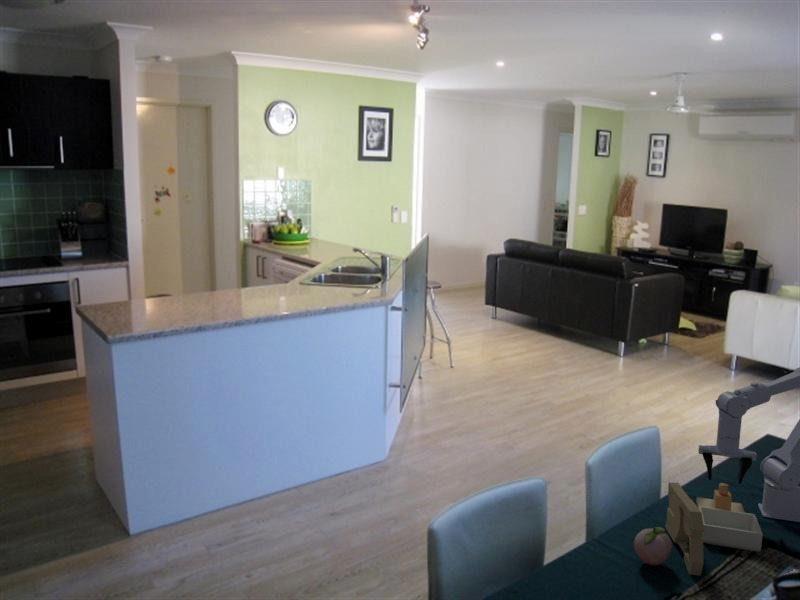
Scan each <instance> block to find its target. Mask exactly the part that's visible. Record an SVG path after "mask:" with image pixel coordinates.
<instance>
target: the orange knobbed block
mask: <svg viewBox="0 0 800 600" xmlns="http://www.w3.org/2000/svg"><path fill="white" fill-rule="evenodd" d="M729 487H730V485H729V484H727V483H725V482H724V483H723V482H720V483H719V485H718V489H714V492H713V500H714V501H713V507H714V508H715V509H722V510H729V511H731V502H733V501H732V499H733V498H732V494H731V491H729Z"/></svg>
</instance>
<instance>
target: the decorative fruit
mask: <svg viewBox="0 0 800 600" xmlns="http://www.w3.org/2000/svg"><path fill="white" fill-rule="evenodd" d="M665 529H666V528H663V527H660V526H655V527H653V528H644V529H641V531H639V532H638V533H637V535H636V536H635V538H634V542H633V546H634V547H633V548H634V550H635V552H636V554H637V556H638V557H639V559H640V560H641V561H642V562H644V563H645V564H646V565H648V566H649V565H650V566H653V567H654V566H659V565H662V564H663V563H664V562H665V561H666V559H667V558H669V556H670V553H671V551H672V546H673V545H672V541H671V539H670V537H669V535H668V534H666V530H665Z"/></svg>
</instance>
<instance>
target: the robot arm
mask: <svg viewBox="0 0 800 600" xmlns="http://www.w3.org/2000/svg"><path fill="white" fill-rule="evenodd" d="M795 389H800V366H799V367H797V368H795V370H794V371H792V372H790V373H788V374H786V375H783V376H781V377H779V378H776V379H774V380H772V381H770V382H768V383H767V382H766V384H763V383H762V382H756V381H753V382H750V385H747V386H745V387H742V388H736V389H735V390H734V391H733V392H732V391H730V390H728V391H724V392H722V393H721V394H719V396H718V397H717V399H716V400H715V405H716V407H717V408H718V421H717V433H716V444H715V445H703V444H702V445H700V444H699V445H698V451H697V452H698V454H699V455H702V457H703V461H704V463H705V465H706V469H707V479H708V480H709V481H710V480H712V478H713V474H712V473H713V472H712V471H713V463H714V458H713V457H714V456H719V457H720V456H722V457H726V458H737V459H738V461H739V463H738V464H739V465H738V472H737V479H736V480H737V483H738V485H742V482H743V479H744V478H745V477H744V476H745V475H746V473H747V471H748V470H750V468H751V467H752V465H753V461H754V462H756V461H757V455H758V454H757V452H756V451H752V450H747V449H742V448H740V441H741V431H742V430H741V429H742V419H743V416H744V415H746V413H747V412H748V411H749V410H751V409H752V408H755V407H758V406H761V405H763V404H765V403H768V402H770V400H771V398H772V396H776V395H780V394H783V393H786V392H789V391H792V390H795ZM759 468H760V471H761V473H762V474H763V479H764V483H763V493H762V503H758V504H757V506H758V508H759V511H760V513H761V516H762V517H763V518H770V519H776V520H783V521H791V522H795V523H797V522H798V523H800V486H799V485H800V418H799V419H798V421H797V423H796V424H795V426H794V427H793V429H792V431H790V434H789V435H788V437H787V438H786V440H785V442H784V443H783V445H782V447H780V448H777V449H774V450H771V452H770V454H769V455H768V456H766V457H765V458H763V460H762V461H761V463H760V467H759Z"/></svg>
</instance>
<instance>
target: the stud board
mask: <svg viewBox="0 0 800 600" xmlns="http://www.w3.org/2000/svg"><path fill="white" fill-rule="evenodd" d="M695 501H696V503H695V504H696V506H697V507H699V506H702V507H709V508H714V507H713V501H714V498H713V499H711V498H706V497H698V496H697V497H696V500H695ZM731 511H736V512H743V513H746V512H745V510H744V507H743V504H742V503H740V502H733V501H732V502H731Z"/></svg>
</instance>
